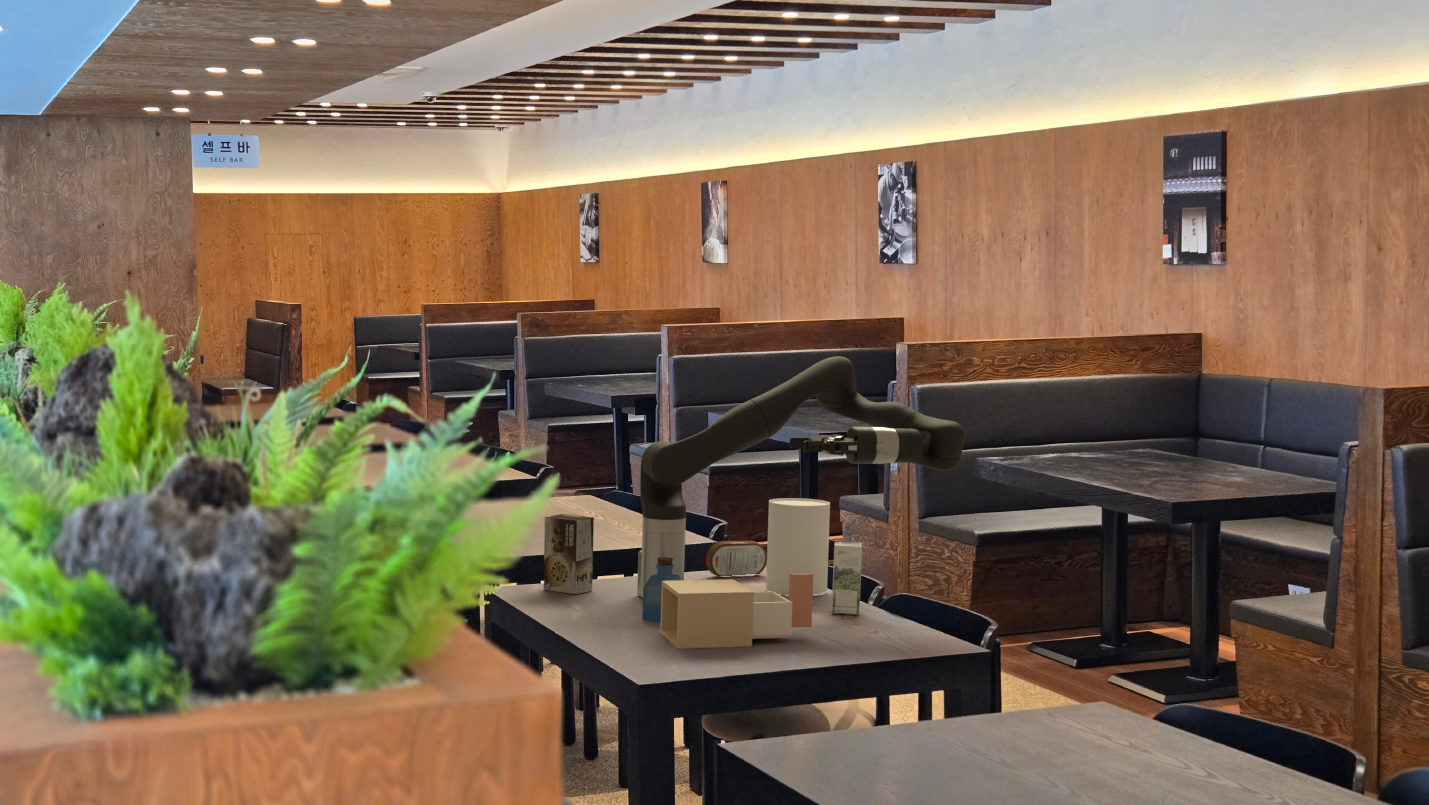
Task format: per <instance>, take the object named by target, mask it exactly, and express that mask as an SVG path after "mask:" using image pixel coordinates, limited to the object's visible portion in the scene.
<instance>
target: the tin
mask: <svg viewBox="0 0 1429 805" xmlns="http://www.w3.org/2000/svg"><path fill="white" fill-rule="evenodd" d="M705 565H706V568H707V569H708V571H709V572H710V573H711V574H712V575H714V576H716V577H718V576H732V575H746V574H758V575H760V574H761V573H762V572H763V571H764V570H765V569H766V567H767V550H766V549H765V547H764V546H763V545H762V544H760V543H758V542H757V541H755V540H721V541H717V542H715V543H713V544H712V545H711V546H710V547H709V549H708V550H707V553H706V556H705Z"/></svg>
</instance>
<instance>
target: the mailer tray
mask: <svg viewBox="0 0 1429 805" xmlns="http://www.w3.org/2000/svg"><path fill="white" fill-rule="evenodd" d="M753 592H754V597H753V628H752V640H755V639H756V640H757V639H758V640H759V639H785V638H786V639H787V638H789V639H790V638H792V628H793V629H794V628H795V629H796V628H812V622H813V619H812V618H813V598H814V597H813V574H811V573H790V580H789V597H788V598H787V597H785V596H781V595H779V594H777V593H776V592H767V591H753Z"/></svg>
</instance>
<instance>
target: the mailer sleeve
mask: <svg viewBox="0 0 1429 805" xmlns="http://www.w3.org/2000/svg"><path fill="white" fill-rule="evenodd" d="M754 592H755V591H753V590H751V589H750V588H748V587H746V586H744V585H743V584H741V583H740V582H738V581H737V580H735V579H731V578H729V579H728V578H727V579H693V580H692V579H691V580H689V579H687V580H685V579H684V580H676V581H662V595H661V622H660V632H659V633H660V635H662V636H663V637H664V638H665V640H668V642H669V643H670V644H671V645H673V646H674V647H675V648H676V649H677V650H679V649H680V650H681V649H682V650H683V649H685V650H686V649H710V648H714V649H715V648H740V647H753V639H752V628H753V597H754Z"/></svg>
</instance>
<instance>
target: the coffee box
mask: <svg viewBox="0 0 1429 805" xmlns="http://www.w3.org/2000/svg"><path fill="white" fill-rule="evenodd" d="M594 520H595V517H591V516H583V515H574V514H563V513H562V514H554V515H550V516H545V517H544V536H543V537H544V538H543V540H544V542H543V543H544V550H543V552H544V555H543V558H544V560H543V562H544V563H543V590H544V591H550V592H558V593H564V594H571V595H578V594H582V593H584V594H585V593H588V592H592V591H593V575H594V574H593V572H594V570H593V568H594V567H593V566H594V565H593V564H594V562H593V560H594V528H595V527H594V524H595V523H594V522H595V521H594Z"/></svg>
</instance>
